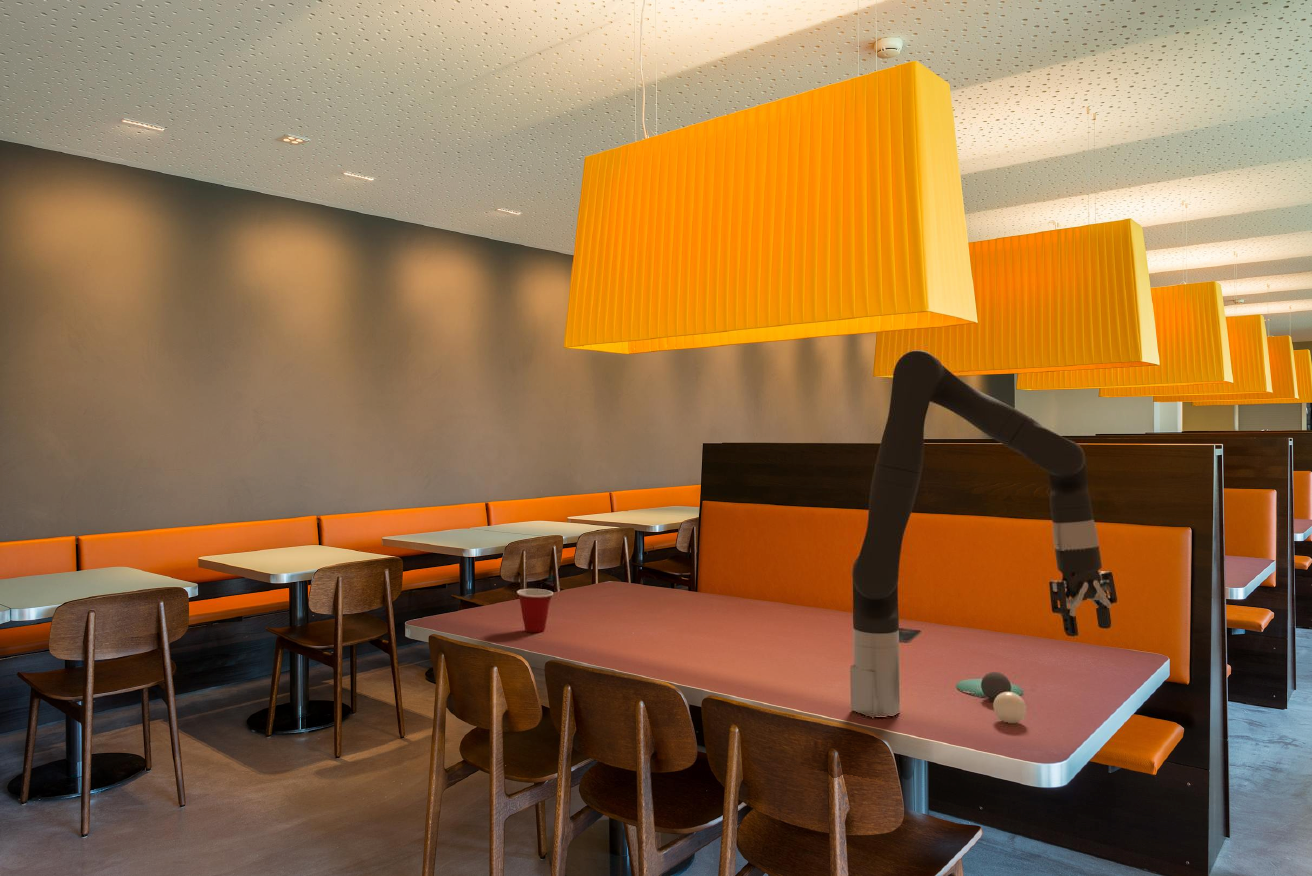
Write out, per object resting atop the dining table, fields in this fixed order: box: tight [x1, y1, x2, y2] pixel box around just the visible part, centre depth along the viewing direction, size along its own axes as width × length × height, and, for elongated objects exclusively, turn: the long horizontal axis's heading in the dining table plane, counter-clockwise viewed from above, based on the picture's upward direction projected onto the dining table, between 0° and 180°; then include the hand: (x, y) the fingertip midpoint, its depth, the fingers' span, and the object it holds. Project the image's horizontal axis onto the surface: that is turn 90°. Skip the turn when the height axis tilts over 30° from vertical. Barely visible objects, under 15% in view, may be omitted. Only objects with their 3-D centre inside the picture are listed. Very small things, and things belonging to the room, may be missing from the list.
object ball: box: [981, 671, 1012, 701], centre depth 181 cm, size 6×6×6 cm
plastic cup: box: [516, 588, 554, 633], centre depth 250 cm, size 11×11×12 cm
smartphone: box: [899, 627, 922, 643], centre depth 239 cm, size 8×1×15 cm
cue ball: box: [992, 692, 1027, 724], centre depth 167 cm, size 6×6×6 cm
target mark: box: [955, 678, 1024, 698], centre depth 189 cm, size 14×14×1 cm
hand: (1088, 631), depth 157 cm, fingers open, 8 cm apart
